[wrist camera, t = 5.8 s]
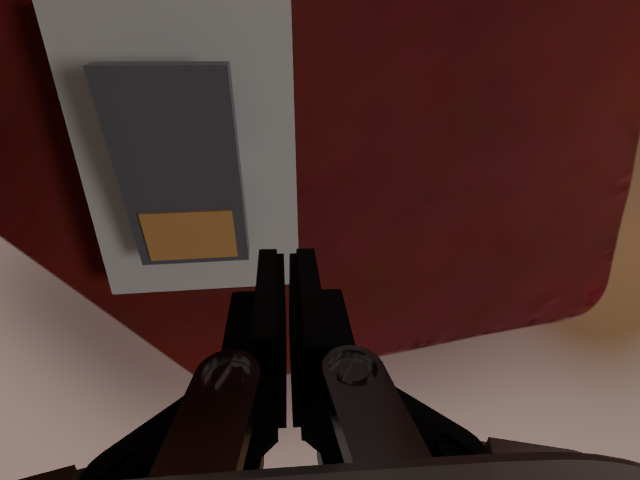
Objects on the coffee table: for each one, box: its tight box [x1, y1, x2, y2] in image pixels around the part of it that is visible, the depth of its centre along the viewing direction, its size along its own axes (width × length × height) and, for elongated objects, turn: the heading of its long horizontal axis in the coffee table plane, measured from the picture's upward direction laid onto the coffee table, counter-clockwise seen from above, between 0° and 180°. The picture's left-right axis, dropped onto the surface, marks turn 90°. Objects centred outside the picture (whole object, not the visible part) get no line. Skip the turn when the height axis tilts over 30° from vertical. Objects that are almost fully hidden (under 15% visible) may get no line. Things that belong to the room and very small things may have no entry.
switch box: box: [32, 0, 298, 294], centre depth 30 cm, size 22×16×6 cm
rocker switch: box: [83, 61, 250, 265], centre depth 26 cm, size 14×8×2 cm, turn 0°
